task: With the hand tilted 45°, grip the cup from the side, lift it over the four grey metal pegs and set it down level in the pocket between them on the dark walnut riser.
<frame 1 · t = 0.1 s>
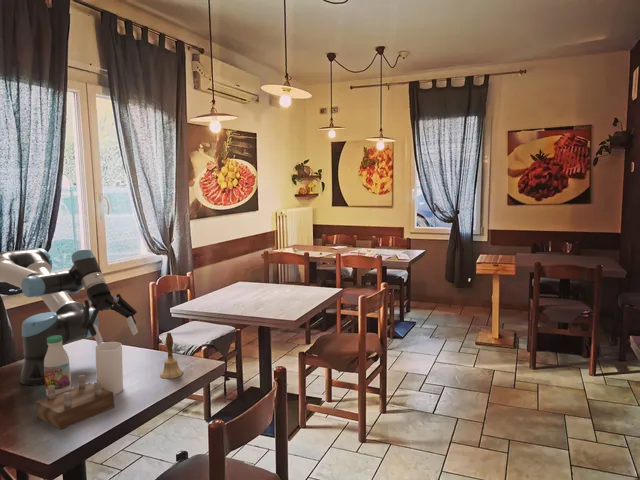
hand: (118, 338, 172), 17 cm above the table, tool tilted 35°, fingers open, 13 cm apart
riser: (76, 412, 151), on the table
cup: (110, 390, 167), on the table, touching gripper
hand bell: (171, 375, 181), on the table
milk bottle: (59, 393, 166), on the table
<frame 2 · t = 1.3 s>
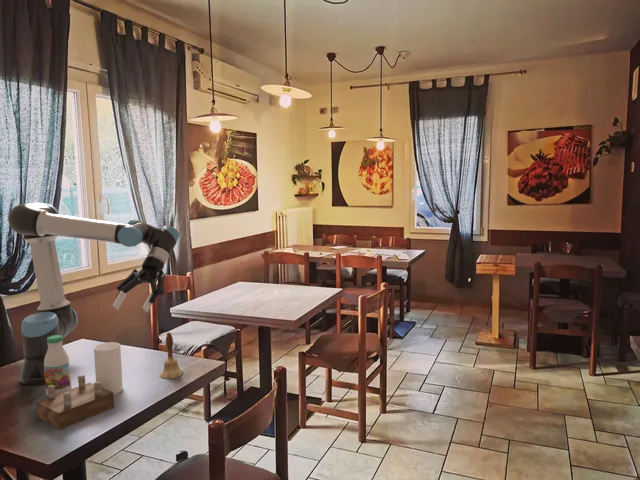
hand: (129, 309, 174), 26 cm above the table, tool tilted 45°, fingers open, 13 cm apart
cup: (109, 391, 167), on the table
everything else where it was.
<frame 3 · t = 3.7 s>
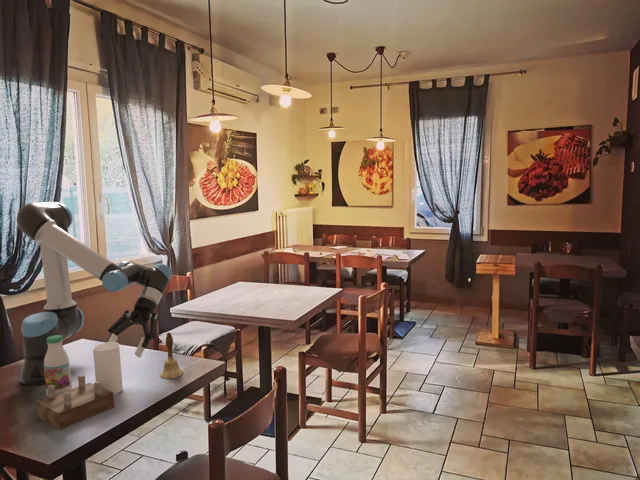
hand: (121, 353, 170), 12 cm above the table, tool tilted 45°, fingers open, 13 cm apart
nothing on the table moved.
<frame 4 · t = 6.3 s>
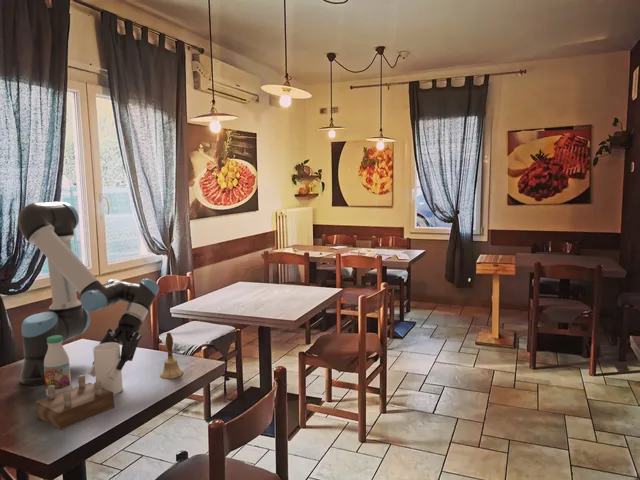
hand: (101, 376, 163), 6 cm above the table, tool tilted 45°, fingers closed on cup, 8 cm apart
cup: (109, 391, 167), on the table, touching gripper
everything else where it was.
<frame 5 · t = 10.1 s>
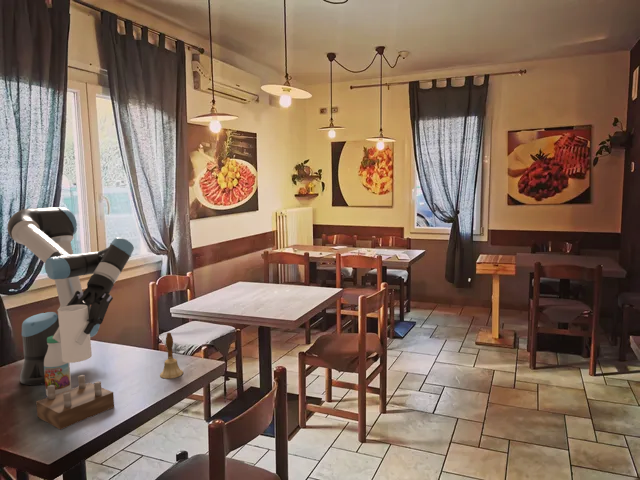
hand: (67, 341, 147), 23 cm above the table, tool tilted 45°, fingers closed on cup, 8 cm apart
cup: (77, 358, 151), point 17 cm above the table, touching gripper
everything else where it was.
when the fingers open (13 cm above the table, at t = 13.7 s): cup drops 1 cm, resting on riser.
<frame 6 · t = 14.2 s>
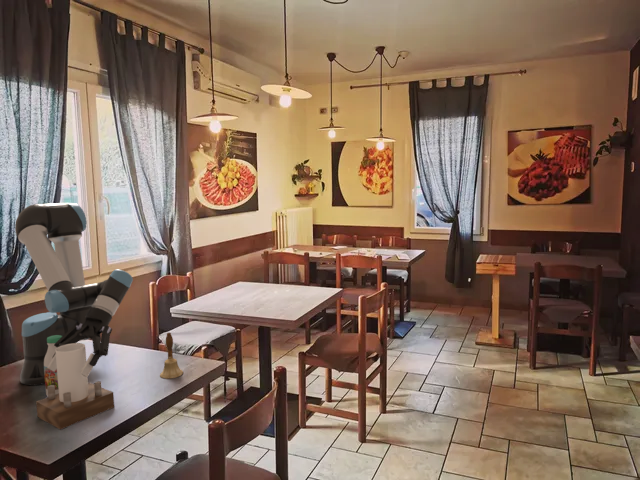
hand: (66, 372, 148), 14 cm above the table, tool tilted 45°, fingers open, 13 cm apart
cup: (74, 397, 151), point 5 cm above the table, touching riser
everything else where it was.
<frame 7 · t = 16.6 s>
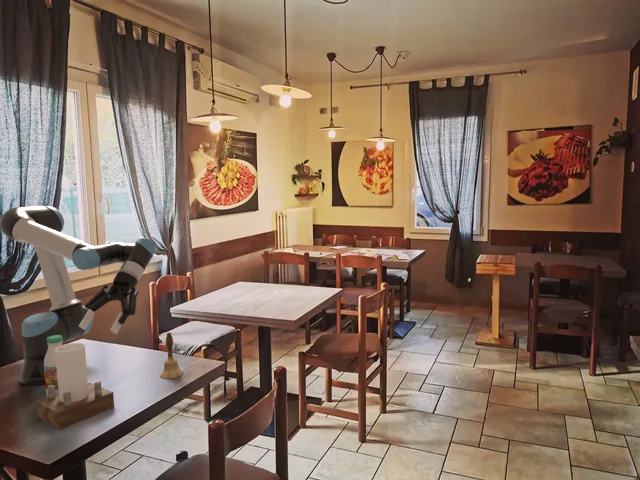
hand: (97, 330, 158), 23 cm above the table, tool tilted 45°, fingers open, 13 cm apart
nothing on the table moved.
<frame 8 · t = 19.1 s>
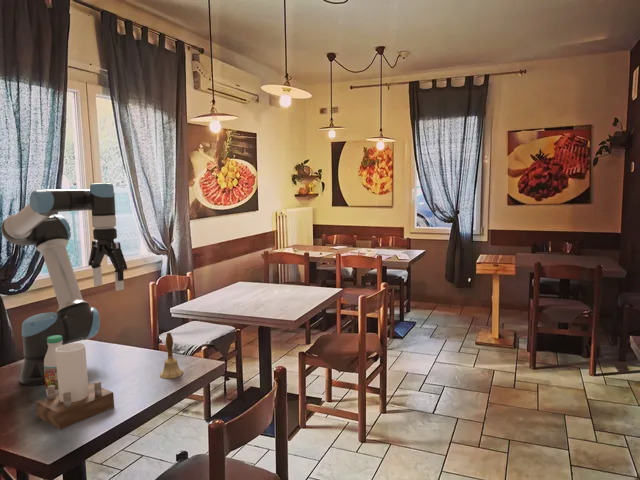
hand: (108, 287, 170), 35 cm above the table, tool pointing down, fingers open, 13 cm apart
nothing on the table moved.
at the end: cup 0.3 cm off-centre on the riser, point 4.8 cm above the riser's base; cup tilted 0°; the gripper is holding nothing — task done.
